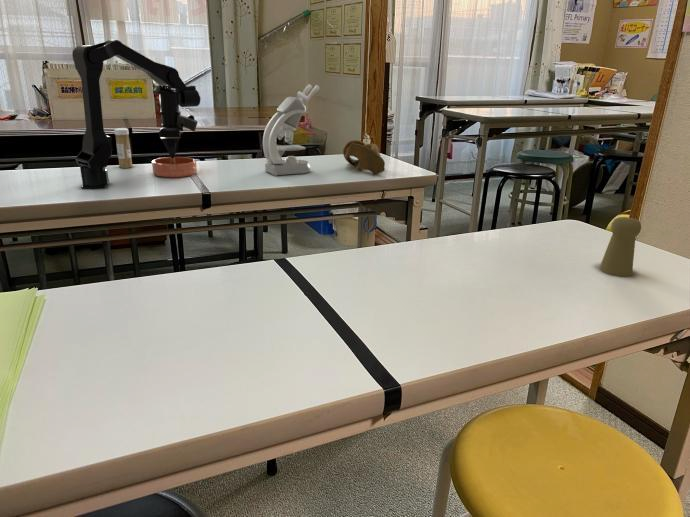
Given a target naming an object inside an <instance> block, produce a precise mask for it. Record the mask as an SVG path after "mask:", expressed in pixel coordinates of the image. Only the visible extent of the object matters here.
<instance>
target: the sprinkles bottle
mask: <svg viewBox="0 0 690 517" xmlns="http://www.w3.org/2000/svg"><path fill="white" fill-rule="evenodd" d="M129 134H130V132H129V128H125V127H119V128H114V136H115V143H116V152H117V159H118V167H119V168H121V169H129V168H132V167H133V165H134V164H133V160H132V151H131V144H130V137H129Z"/></svg>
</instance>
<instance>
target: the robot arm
mask: <svg viewBox="0 0 690 517" xmlns="http://www.w3.org/2000/svg"><path fill="white" fill-rule="evenodd" d="M71 56H72V60H73V63H74V64H73V65H74V67H75V69H76V72H77V74H78V75H79V78H80V81H81V90H82V91H81V92H82V101H83V111H84V120H85V132H84V134H83V137H82V146H81V148H82V149H81V151H80V152H79V153H78V154H77V156H76V157H75V161H76V163H77V165H78V166H80V167H79V170H80V175H81V176H80V177H81V183H82V186H81V189H106V187H107V186H108V185H109V184H110V179H109V172H108V170H107V169H106V168H107V167H108V163H109V159H110V158H111V157H112V151H114V147H113V136H110V135H107V133H106V132H105V129H104V128H105V127H104V118H103V106H102V96H101V86H100V79H101V77H102V76H101V75H102V73H103V70H104V62H105V61H108V60H111V59H112V58H114V57H116V58H118V59H119V60H122V61H124V62H125V63H127V64H129V65H131V66H132V67H135V68H137V69H138V70H139V71H142V72H144V73H145V74H146V75H148V77H149V78H150V79H151V80H152V81H154V82H155V83H156V84H158V85H157V86H156V87H155V88H154V89H153V90H152V93H153V94H156V95H157V94H158V95H159V105H160V112H159V113H160V116H161V128H160V130H159V131H158V135H159V138H160V140H161V141H162V144H163V145H164V147H165V149H166V151H167V153H168V155H169V157H171V158H175V157H176V154H177V153H178V146H179V140H180V139H181V135H183V133H184V128H185V129H188V130H190V131H192V132H196V129H197V125H198V122H199V121H198V120H197V119H195V115H192V114H189V115H187V116H185V115H182V112H181V110H180V108H190V107H192V108H193V107H194V108H195V107H199V106H200V103H201V95H200V93H199V91H198V90H197V86H196V85H186V84H185V83H184V81H183V79H182V78H181V77H180V74H179V71H178V70H177V69H176V68H175V67H172V66H170V65H166V64H163V63H159V62H156V61H154V60H153V59H150V58H149V57H147V56H145V55H144V54H142V53H140V52H138V51H136V50H134V49H133V48H131V47H129V46H128V45H126V44H124V43H123V42H122V41H121V40H118V39H108V40H106V41H103V42H99V43H95V44H92V45H78V46H76V47H75V48H74V49H72V55H71Z"/></svg>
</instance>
